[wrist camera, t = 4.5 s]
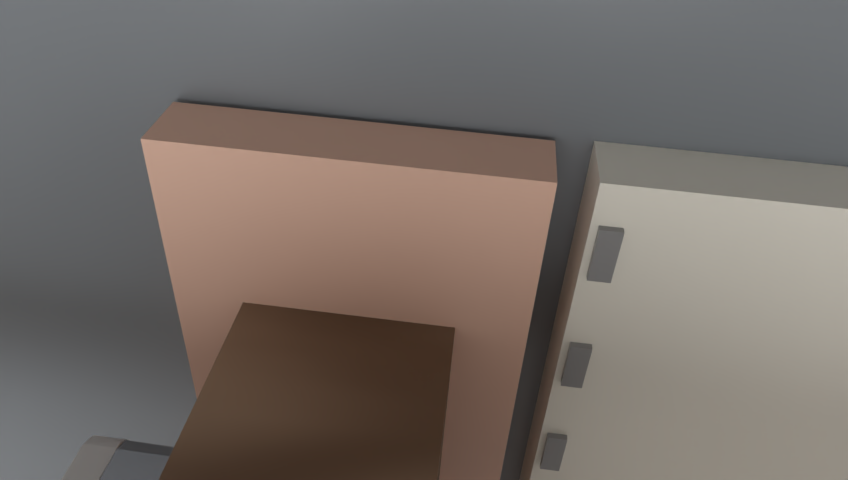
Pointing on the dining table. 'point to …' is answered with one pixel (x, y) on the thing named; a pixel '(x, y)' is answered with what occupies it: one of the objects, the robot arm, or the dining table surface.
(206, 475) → the brown and pink block
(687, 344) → the board
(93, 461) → the robot arm
